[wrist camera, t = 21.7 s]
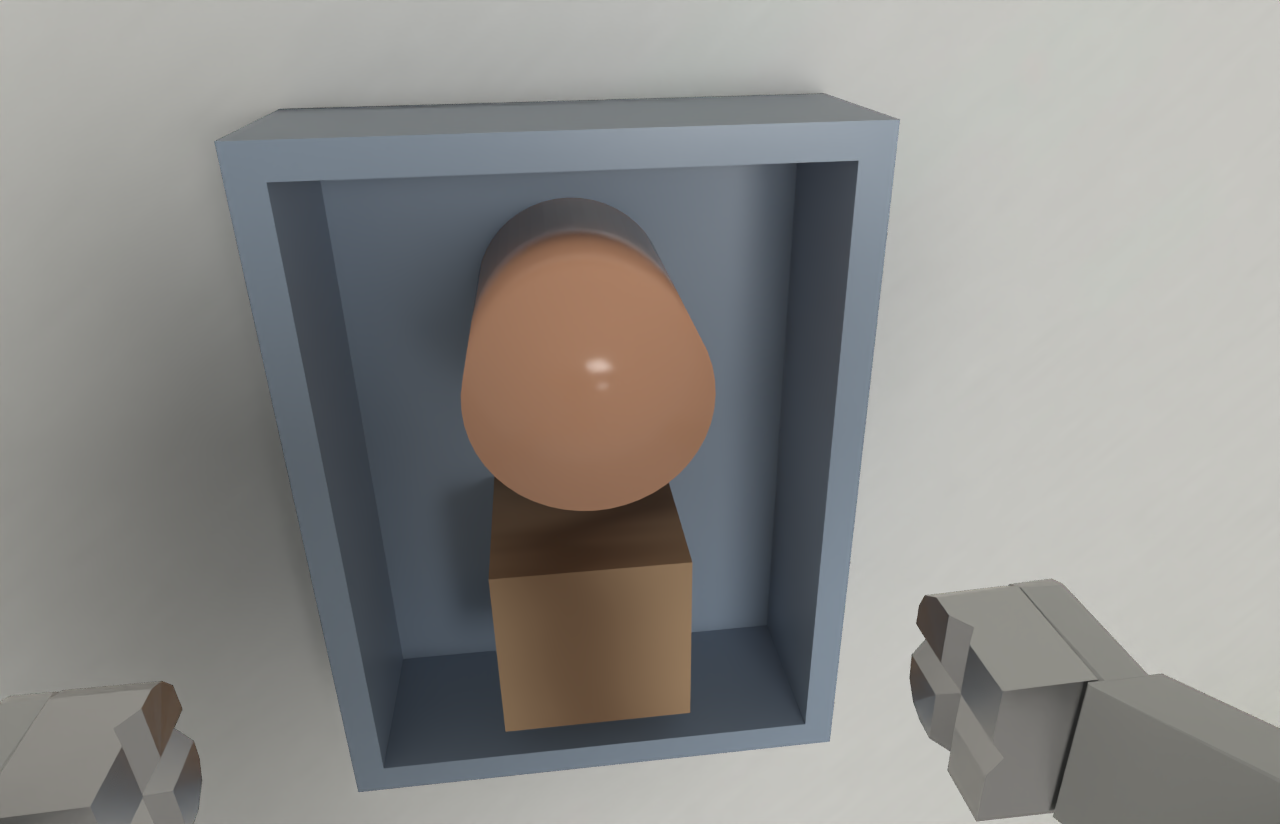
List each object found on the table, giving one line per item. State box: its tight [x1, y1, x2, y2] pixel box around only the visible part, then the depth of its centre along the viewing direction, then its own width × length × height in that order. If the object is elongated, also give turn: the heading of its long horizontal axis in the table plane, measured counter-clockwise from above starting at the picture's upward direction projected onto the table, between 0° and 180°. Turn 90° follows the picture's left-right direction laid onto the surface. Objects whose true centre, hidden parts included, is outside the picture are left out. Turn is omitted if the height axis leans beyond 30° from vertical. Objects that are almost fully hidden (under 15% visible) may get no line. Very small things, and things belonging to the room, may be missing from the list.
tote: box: [214, 94, 900, 792], centre depth 23 cm, size 18×14×5 cm
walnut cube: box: [489, 476, 692, 732], centre depth 25 cm, size 5×5×5 cm
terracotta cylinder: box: [461, 198, 716, 511], centre depth 20 cm, size 5×5×7 cm
